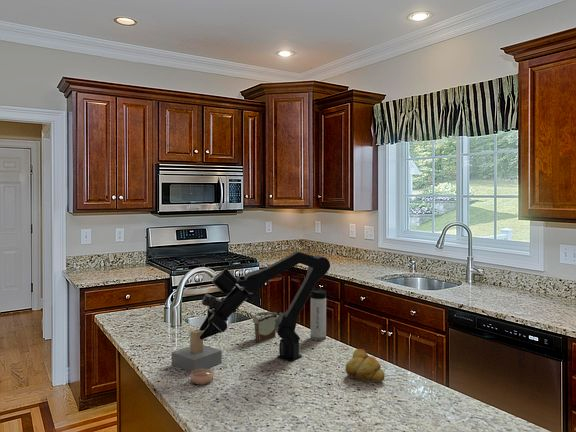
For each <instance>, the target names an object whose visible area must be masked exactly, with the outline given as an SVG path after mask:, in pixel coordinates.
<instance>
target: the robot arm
mask: <svg viewBox="0 0 576 432" xmlns="http://www.w3.org/2000/svg"><path fill="white" fill-rule="evenodd" d="M330 262H331V261H330V260H329V259H328V258H326V257H325V256H323V255H321V254H315V255H311V254H307V253H305V252H301V251H299V250H295V251H293V253H290V254H289V255H286V257H283V258H281V259H280V260H278V261H276V262H274V263H272V264H271V265H268V266H267V267H264V268H260V269H256V270H253V271H250V272H247V273H246V274H245V275H242V276H234V274H232V273H231V272H230V271H229V269H228V268H224V269H223V270H221V271H220V272H219V273H217V274H216V275H215V276H214V277H213V278H212V280H211V283H212V284H213V285H214V286H216V287H217V289H218V290H219V291H221V293H223V294H224V293H228V294H227V295H226V296H222V297H221V298H218V297H216V296H213V295H211V294H209V293H205V294H204V296H203V298H202V300H201V304H202V305H203V306H205V307H206V306H207V307H208V308H207V310H206V311H207V315H206V317H205V319H204V321H203V322H202V324H201V326H200V327H199V328H198V330H201V331H203V333H202V334H201V336H200V337H199V338H200V339H201V340H202V339H203V340H205V339H207V338H209V337H211V336H212V337H213V336H215V335H218V334H221V333H225V332H226V330H227V329H228V321H229V317H231V316H232V315H233V314H235V313H237V310H238V308H239V307H241V305H242V304H243V303H244V302H245V301H247V300H249V302H253V301H254V299H253V297H254V296H253V295H254V293H253V292H256V291H259V290H260V289H261V288H262V287H264V286H265V285H266V284H267V283H268V281H270V280H271V279H273V278H275V277H276V276H278V275H280V274H282V273H284V272H285V271H287V270H289V269H291V268H293V267H296V266H297V265H299V264H301V265H303V266H307V272H306V276H305V278H304V280H303V282H302V283H301V285H300V286H299V289H298V290H297V292H296V294H295V295H294V297H293V299H292V301H291V303H290V305H289V307H288V308H287V310H286V311H285V312H281V311H280V312H279V313H278V314H277V315H278V318H277V319H276V320H275V330H276V334H277V335H278V336H279V338H281V339H279V344H278V346H279V350H278V351H279V352H278V353H279V355H277V356H276V357H277V358H278V359H281V360H285V361H288V362H293V361H296V360H297V359H299V358H302V354H300V339H301V338H300V336H299V335H298V333H297V332H296V331H295V329H296V328H297V322H298V318H299V315H300V313H301V312H302V310H303V308H304V306H305V305H306V303H307V301H308V299H309V297H311V292H312V290H313V289H314V288H316V285H317V283H318V282H319V281H320V280H321V279H322V278H323V277H324V276H325V275H326V274H327V273H328V272H329V271H330V268H331V263H330ZM249 291H250V292H249Z"/></svg>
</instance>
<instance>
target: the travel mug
mask: <svg viewBox="0 0 576 432" xmlns="http://www.w3.org/2000/svg"><path fill="white" fill-rule="evenodd" d="M326 337H327V291H326V290H325V289H322V288H318V287H317V288H316V287H314V289H313V290H312V292H311V294H310V339H312V340H313V341H314V340H315V341H323V340H326Z"/></svg>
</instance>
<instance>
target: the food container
mask: <svg viewBox="0 0 576 432" xmlns="http://www.w3.org/2000/svg"><path fill="white" fill-rule="evenodd" d="M278 315H279V314H278V313H277V312H274V311H263V312H262V311H261V312H257V313H255V314H253V317H252V323H253V324H254V335H255V337H254V338H255V342H257V343H258V344H262V343H265V342H267V341H270V340H272V339H275V338H277V337H276V335H277V332H276V330H275V320H276V319H277V318H278Z"/></svg>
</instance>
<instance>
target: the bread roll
mask: <svg viewBox="0 0 576 432" xmlns="http://www.w3.org/2000/svg"><path fill="white" fill-rule="evenodd" d="M345 365H346V366H345V372H346V375H347V376H348V377H350V378H353V379H356V380H358V381H361V382H371V383H379V382H383V381H384V379H385V378H386V377H385V376H386V375H385V371H384V370H383V369H381V368H382V366H381V363H380V362H379V361H378V360H377V359H376V358H375V357H372V356H369V355H368V353H367V351H366V350H364V349H362V348H356V349H355V350H354V351H353V354H352V358H350V359H349V360H348V361H347V362H346V364H345Z"/></svg>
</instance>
